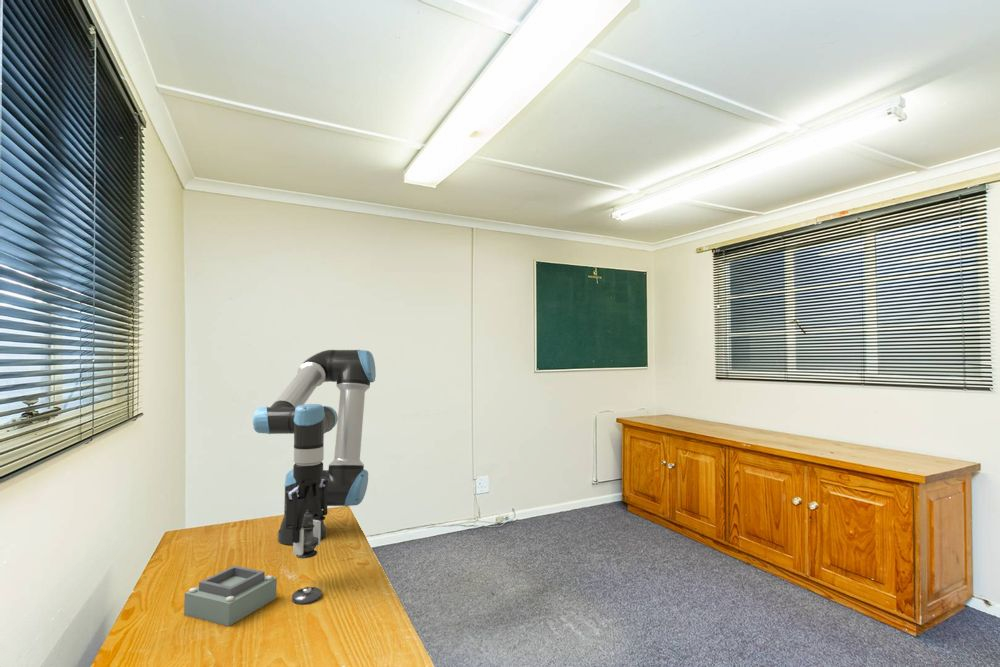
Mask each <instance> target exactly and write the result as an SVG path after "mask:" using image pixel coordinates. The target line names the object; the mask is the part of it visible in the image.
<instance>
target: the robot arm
mask: <svg viewBox="0 0 1000 667" xmlns="http://www.w3.org/2000/svg"><path fill="white" fill-rule="evenodd" d="M376 372H377V371H376V362H375V358H374V355H373V354H372V352H371V351H369V350H365V349H364V350H363V349H327V350H322V351H320V352H317V353H314V355H312V356H310V357H308V358H307V359H306V360H304V361H303V362H302V363H301V364H300V365H299V367H298V369H297V374H296V375H295V377H294V378H293V379H292V380H291V382H290V383H289V384H288V385H287V386H286V388H285V389H284V390H283V392H281V394H280V395H279V396H278V398H277V399H276V400H275V401H273V403H272V404H271V405H270V406H269V407H268V406H263V407H262V406H261V407H259V408H257V409H256V410H255V412H254V414H253V418H252V425H253V430H254V431H255V432H256V433H258V434H266V435H267V434H268V435H273V434H274V435H275V434H276V435H281V434H283V435H284V434H285V435H286V434H287V435H288V434H290V435H291V434H293V462H294V464H293V468H292V469H291V470H289V471H288V472H287V473H286V475H285V480H284V481H285V483H284V509H283V510H284V511H283V512H284V513H283V515H284V516H283V519H282V521H281V523H280V527H279V530H278V533H277V541H278V543H280V544H283V545H287V546H292V554H293V555H297V554H298V555H303V543H304V529H301V527H302V523H303V518H304V513H306V512H307V509H308V510H309V511H308V512H310V513H312V514H313V525H314V527H313V535H314V537H317V538H318V539H319V541H318V542H317V547H318V546H321V540H322V539H324V538H325V537H326V536H327V527H326V525H325V520H326V516H327V515H328V506H329V507H348V506H349V507H350V506H352V507H353V506H359V505H360V504H361V503H362V502H363V500H364V498H365V495H366V493H367V489H368V484H369V483H368V482H369V471H368V470H366V469H364V468H365V465H364V463H363V462H362V461H361V450H362V448H361V447H362V435H363V434H362V433H363V424H364V422H363V421H364V411H365V410H364V409H365V398H366V397H365V396H366V392H367V390H369V389H370V387H371V383H374V382H375V381H376V374H377V373H376ZM326 382H327V383H328V382H332V383H334V382H335V383H336V385H335V386H336V388H338V389H339V400H338V402H339V403H338V413H337V411H336V410H335V409H334V408H333V407H331V406H328V405H324V406H323V405H322V404H318V403H308V404H306V403H307V401H308V400H309V398H310V396H311V395H312V393H314V392H315V389H317V387H319V386H321V385H323V383H326ZM335 427H336V433H335V434H336V435H335V444H334V445H335V446H334V457H333V461H331V462H330V463H329V464H328V469H327V470H325V469H324V462H323V461H324V458H325V457H324V444H325V443H324V439H325V438H324V437H325V434H326V433H328V432H329V433H330V431H332V430H333V428H335Z"/></svg>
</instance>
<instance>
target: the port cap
mask: <svg viewBox="0 0 1000 667" xmlns="http://www.w3.org/2000/svg"><path fill="white" fill-rule="evenodd" d="M322 591H323V590H322V589H321V588H319V587H314V586H306V587H303V588H300V589H297V590H296V591H294V592H293V593H292V594H291V602H292V603H294V604H296V605H308V604H309V605H310V604H313V603H315V602H317V601H319V600H320V599H321V598H322V595H323V594H322V593H323V592H322Z"/></svg>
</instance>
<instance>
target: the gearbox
mask: <svg viewBox="0 0 1000 667" xmlns="http://www.w3.org/2000/svg"><path fill="white" fill-rule="evenodd" d="M265 574H266V572H265V571H263V570H258V569H252V568H248V567H245V566H244V567H243V566H239V565H233V566H231V567H229V568H226V569H224V570H222V571H220V572H218V573H216V574H214V575H211V576H209V577H207V578H205V579H203V580H201V581H199V582H198V586H196V587H192V588H189V590H188V591H186V592H184V601H183V602H184V603H183V605H184V606H183V615H184V616H187V617H191V618H195V619H197V620H198V619H200V620H202V621H206V622H211V623H214V624H218V625H220V626H221V625H222V626H225V627H230V626H231V625H233V624H235V623H236V622H239V621H240V620H242V619H243V618H245V617H247V616H248V615H250V614H252V613H253V612H256V611H257V610H259V609H261V608H262V607H264V606H265V605H267V604H269V603H271V602H272V601H274V600H275V599H277V582H278V578H277V577H275V576H274V575H271V574H270V575H269V574H268V575H265Z"/></svg>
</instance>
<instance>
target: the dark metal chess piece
mask: <svg viewBox="0 0 1000 667" xmlns="http://www.w3.org/2000/svg"><path fill="white" fill-rule="evenodd" d="M308 511H309V510H308V509H307V512H306V513H304V518H303V523H302V527H301V529H304V543H303V555H298V554H295V555H296V558H298V559H309V558H313V557H316V556H317V555H318V550H315V549H316V547H318V545H317V542H318V541H319V539H318V538H317V537H314V535H313V527H314V525H313V514H312V513H310V512H308Z"/></svg>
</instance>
